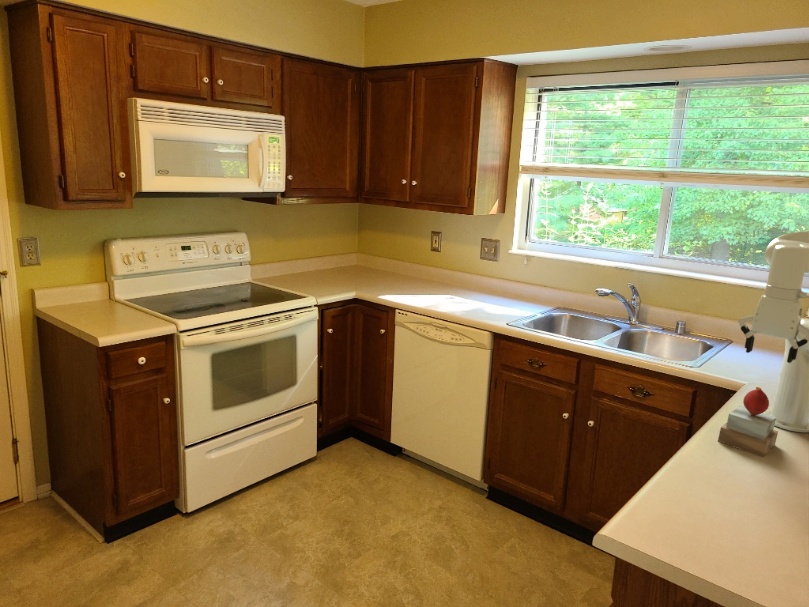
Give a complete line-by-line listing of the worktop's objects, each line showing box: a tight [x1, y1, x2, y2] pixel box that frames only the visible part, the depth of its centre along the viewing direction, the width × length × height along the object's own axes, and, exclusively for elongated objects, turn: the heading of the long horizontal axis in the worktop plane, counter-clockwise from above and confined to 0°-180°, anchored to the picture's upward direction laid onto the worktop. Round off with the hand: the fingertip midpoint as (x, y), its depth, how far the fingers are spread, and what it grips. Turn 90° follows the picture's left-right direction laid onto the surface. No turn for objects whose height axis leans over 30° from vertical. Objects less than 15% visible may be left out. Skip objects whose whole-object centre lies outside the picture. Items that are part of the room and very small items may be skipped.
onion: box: [742, 386, 770, 416], centre depth 160 cm, size 6×6×8 cm
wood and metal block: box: [717, 405, 779, 458], centre depth 162 cm, size 11×11×8 cm
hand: (768, 356), depth 159 cm, fingers open, 9 cm apart
